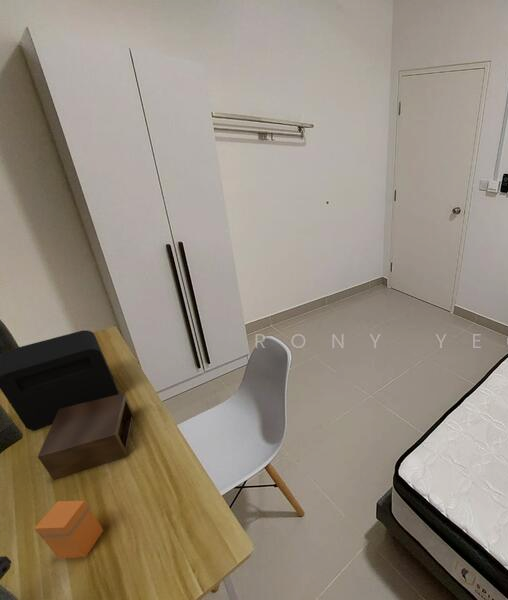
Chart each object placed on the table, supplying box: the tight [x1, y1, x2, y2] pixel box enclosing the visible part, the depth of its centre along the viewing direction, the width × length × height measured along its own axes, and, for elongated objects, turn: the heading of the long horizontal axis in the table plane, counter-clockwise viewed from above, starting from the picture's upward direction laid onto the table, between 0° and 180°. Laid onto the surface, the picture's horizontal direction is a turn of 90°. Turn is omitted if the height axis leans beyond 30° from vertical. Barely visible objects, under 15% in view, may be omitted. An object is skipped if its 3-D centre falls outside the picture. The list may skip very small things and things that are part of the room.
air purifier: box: [0, 329, 120, 431], centre depth 96 cm, size 20×15×20 cm
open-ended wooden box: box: [37, 392, 135, 481], centre depth 86 cm, size 14×16×9 cm
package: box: [34, 500, 104, 559], centre depth 65 cm, size 5×5×11 cm
